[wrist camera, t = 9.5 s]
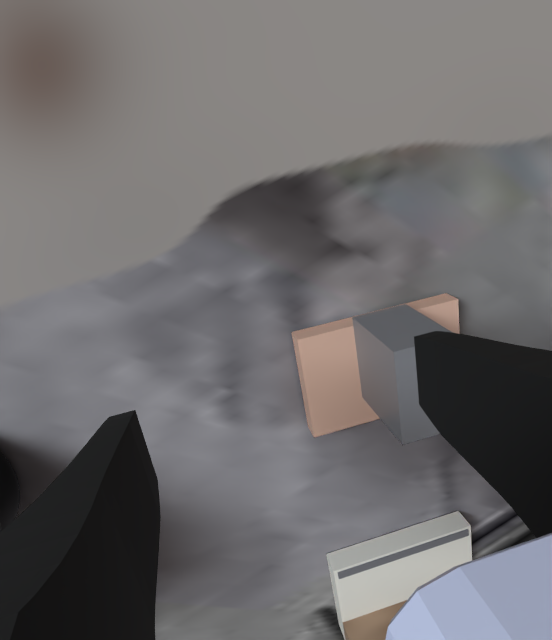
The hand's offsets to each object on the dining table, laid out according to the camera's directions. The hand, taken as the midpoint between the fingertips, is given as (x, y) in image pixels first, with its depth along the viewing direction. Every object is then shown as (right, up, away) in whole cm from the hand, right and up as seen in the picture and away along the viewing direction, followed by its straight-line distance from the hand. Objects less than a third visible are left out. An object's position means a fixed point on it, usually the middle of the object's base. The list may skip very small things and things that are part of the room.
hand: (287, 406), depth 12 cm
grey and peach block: (+4, 0, +11) cm, 12 cm away
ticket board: (+7, -12, +16) cm, 21 cm away
